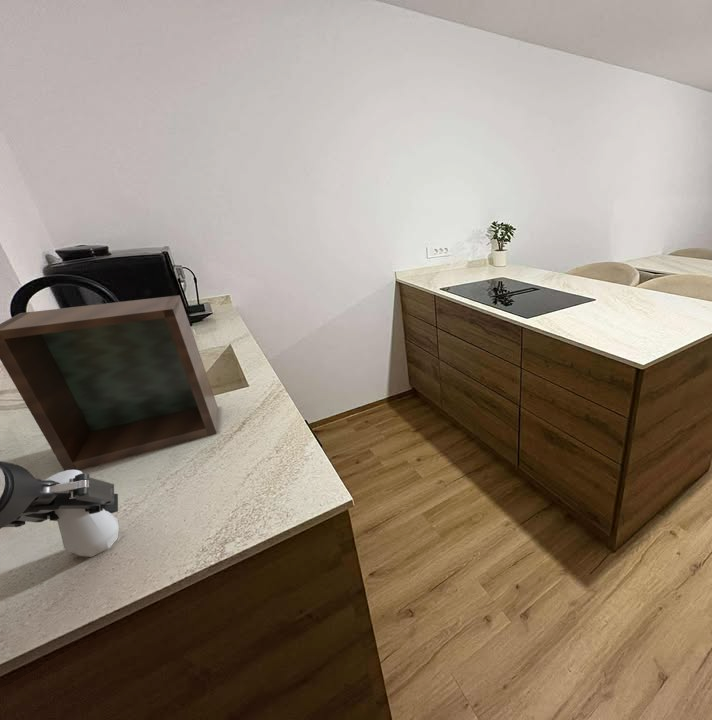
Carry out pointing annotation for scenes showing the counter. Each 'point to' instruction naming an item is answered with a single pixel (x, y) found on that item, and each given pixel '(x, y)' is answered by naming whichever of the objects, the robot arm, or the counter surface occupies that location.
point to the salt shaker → (84, 525)
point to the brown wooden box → (110, 378)
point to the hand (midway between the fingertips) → (99, 507)
